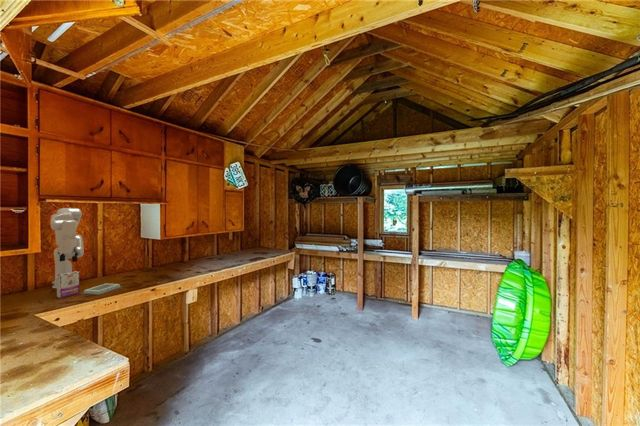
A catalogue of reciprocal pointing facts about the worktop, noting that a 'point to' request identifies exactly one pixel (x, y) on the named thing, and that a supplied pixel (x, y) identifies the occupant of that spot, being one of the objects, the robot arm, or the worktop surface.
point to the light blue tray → (95, 291)
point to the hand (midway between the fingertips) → (68, 261)
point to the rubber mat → (103, 292)
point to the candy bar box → (67, 284)
